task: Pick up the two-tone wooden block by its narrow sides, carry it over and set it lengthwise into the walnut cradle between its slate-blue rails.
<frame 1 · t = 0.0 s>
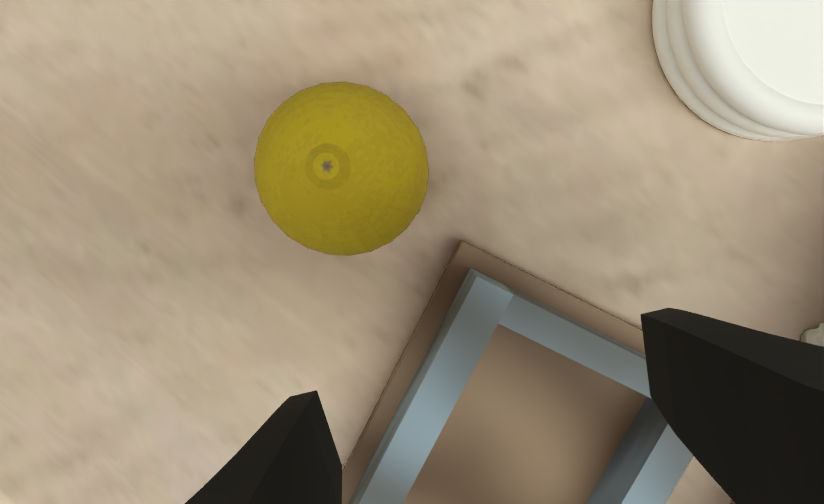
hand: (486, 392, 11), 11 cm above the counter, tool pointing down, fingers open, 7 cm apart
lemon: (357, 174, 21), on the counter
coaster: (768, 16, 21), on the counter
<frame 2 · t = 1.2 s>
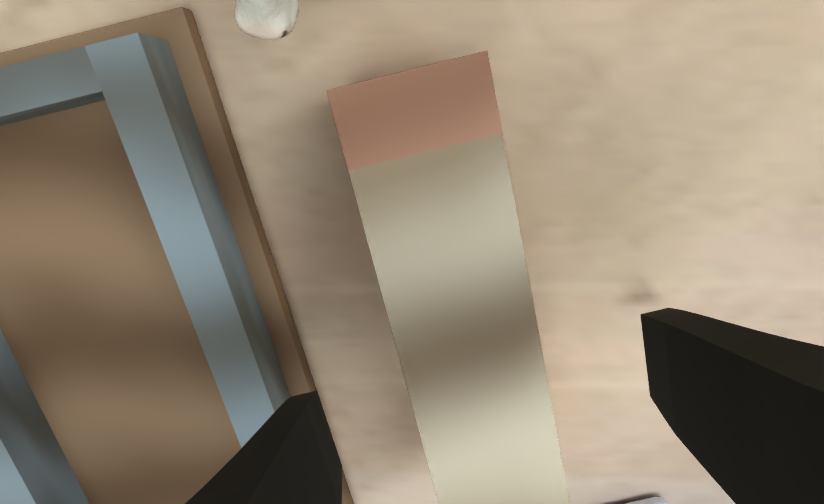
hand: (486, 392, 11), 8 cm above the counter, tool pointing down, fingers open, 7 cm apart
two-tone wooden block: (445, 271, 19), on the counter
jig: (135, 346, 20), on the counter
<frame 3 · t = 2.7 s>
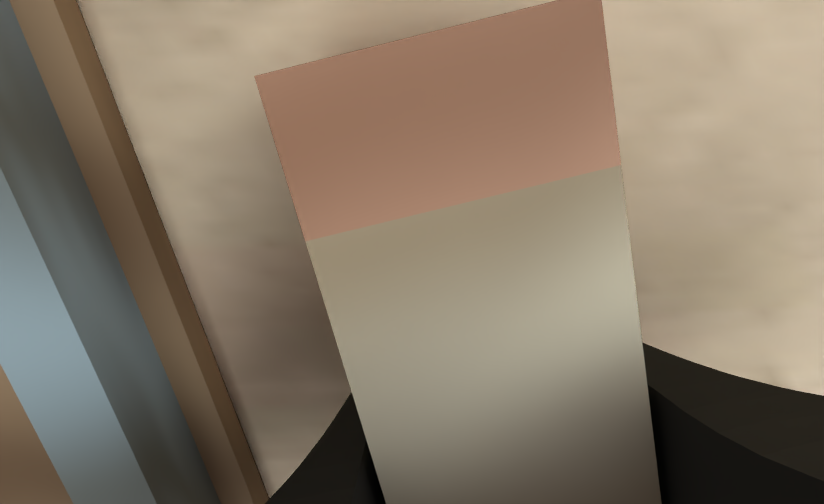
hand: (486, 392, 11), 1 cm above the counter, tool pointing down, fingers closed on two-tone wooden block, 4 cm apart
two-tone wooden block: (475, 361, 13), on the counter, touching gripper
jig: (4, 472, 13), on the counter
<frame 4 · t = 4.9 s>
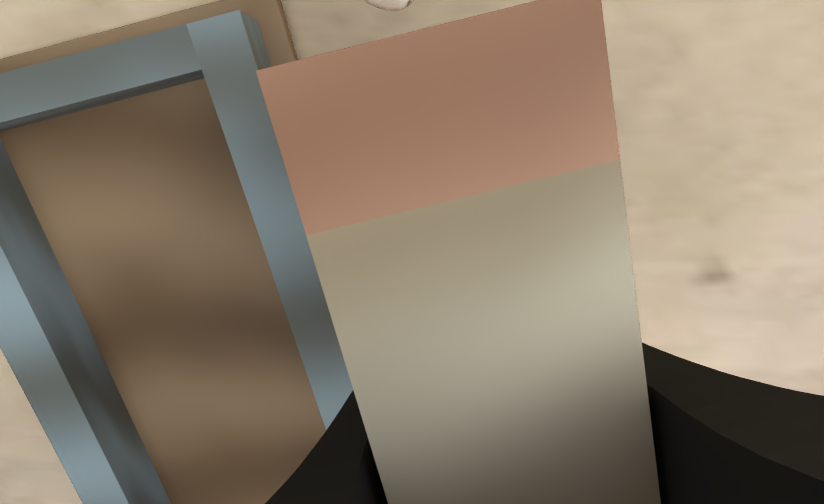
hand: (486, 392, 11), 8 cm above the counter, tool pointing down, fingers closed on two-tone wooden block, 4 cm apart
two-tone wooden block: (475, 357, 13), point 7 cm above the counter, touching gripper
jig: (211, 330, 20), on the counter
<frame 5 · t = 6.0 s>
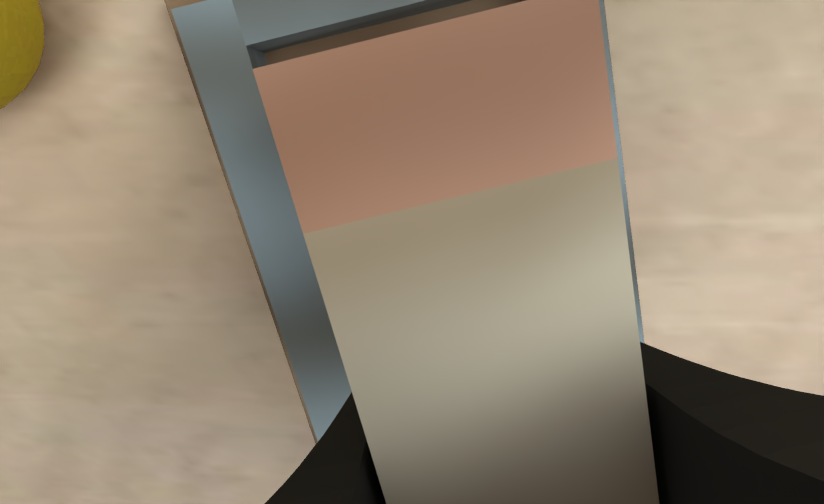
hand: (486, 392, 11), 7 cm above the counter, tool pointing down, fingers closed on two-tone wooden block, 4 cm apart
two-tone wooden block: (474, 357, 13), point 6 cm above the counter, touching gripper
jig: (450, 283, 18), on the counter
lemon: (9, 27, 15), on the counter
when the fingers open (4 cm above the counter, at t = 7.1 s): two-tone wooden block drops 1 cm, resting on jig.
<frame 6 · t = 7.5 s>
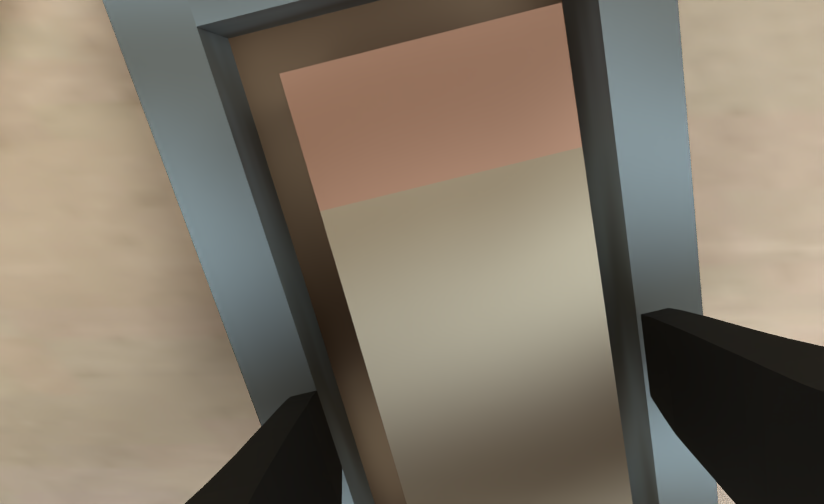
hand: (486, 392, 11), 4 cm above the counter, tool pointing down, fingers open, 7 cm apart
two-tone wooden block: (468, 333, 14), point 1 cm above the counter, touching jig
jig: (463, 323, 15), on the counter
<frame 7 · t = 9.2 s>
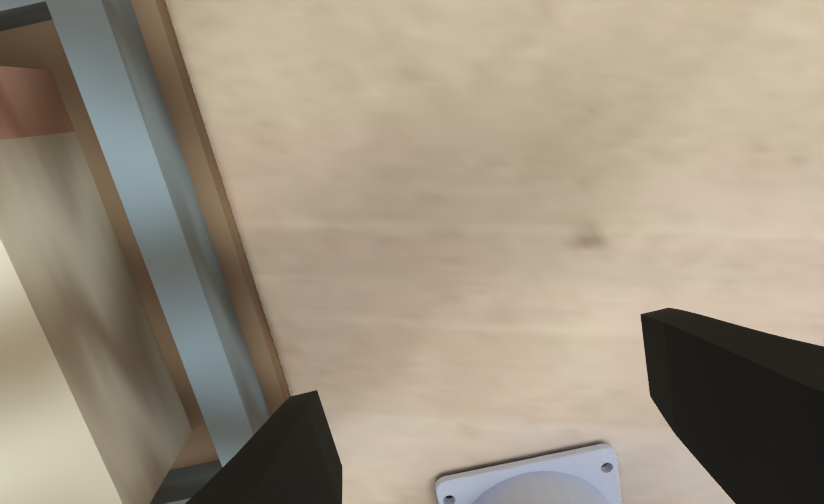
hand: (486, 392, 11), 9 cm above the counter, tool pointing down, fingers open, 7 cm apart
two-tone wooden block: (75, 281, 19), point 1 cm above the counter, touching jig
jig: (87, 276, 20), on the counter
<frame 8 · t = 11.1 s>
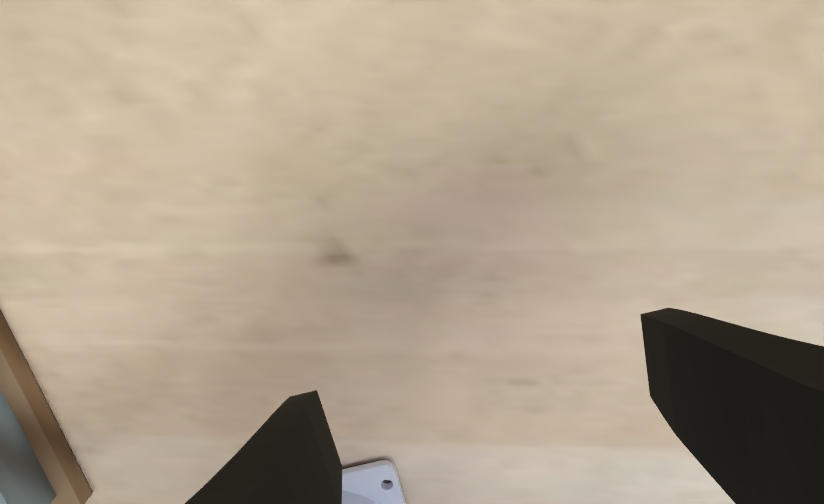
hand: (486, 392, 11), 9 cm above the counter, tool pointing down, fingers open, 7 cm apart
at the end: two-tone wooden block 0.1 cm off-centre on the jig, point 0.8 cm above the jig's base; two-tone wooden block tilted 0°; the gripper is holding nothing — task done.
